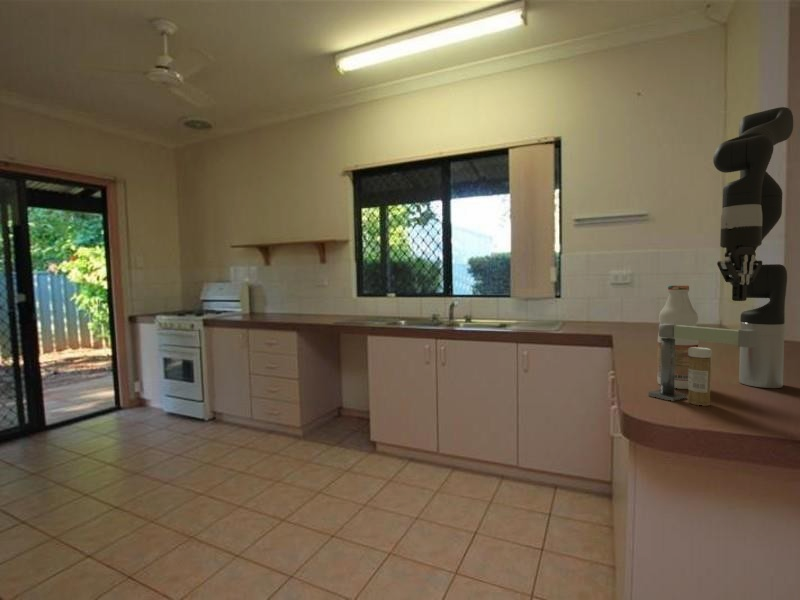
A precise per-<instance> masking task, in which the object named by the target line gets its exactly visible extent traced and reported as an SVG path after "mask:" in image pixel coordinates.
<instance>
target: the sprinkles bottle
mask: <svg viewBox="0 0 800 600" xmlns="http://www.w3.org/2000/svg"><path fill="white" fill-rule="evenodd" d="M712 352H713V351H712V349H710V348H709V347H702V346H698V347H691V348H689V349H688V355H689V374H688V389H687V390H688V397H687V398H688V399H687V402H688V403H689V404H690V405H695V406H699V405H702V407H708V406H710V405H711V391H712V390H711V388H712V384H711V383H712V379H711V368H712V367H711V362H712V361H711V359H712V355H713V353H712Z"/></svg>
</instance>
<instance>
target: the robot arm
mask: <svg viewBox="0 0 800 600" xmlns="http://www.w3.org/2000/svg"><path fill="white" fill-rule="evenodd" d="M738 127H739V128H738V136H736V137H734V138H733V137H732V139H731V138H730V139H729V140H726V141H724V142H722V143H720V144H719V146H717V148H716V149H715V151H714V154H713V158H712V159H713V165H714V167H715V169H716V170H718V171H719V172H721V173H727V174H729V173H734V172H739V173H740V174H739V179H735V180H733V181H731V182H727V183H726V184H725V185H724V186H723V188H722V201H721V203H722V204H721V205H722V209H721V215H720V237H719V238H720V240H719V241H720V243H719V244H720V245H719V247H720V248H723V249H725V253H724V259H722V260H718V261H717V262H716V263H717V264H716V265H717V267H718V269H719V272H720V273H721V275H722V277H723V279H724V281H725V282H726V283H729V284H730V285H731V287H732V290H731V293H732V295H731V299H732V301H734V302H745V301H747V299H769V301H768V302H767V303H766V304H764V305H762V306H759V307H757V308H753V309H748V310H745V311H743V312H741V314H740V324H739V330H743V329H751V330H757V334H756V346H755V347H751V348H747V347H739V362H738V363H739V369H738V370H739V371H738V382H739V383H740V384H743V385H746V386H749V387H750V386H751V387H757V388H765V389H766V388H767V389H779V388H783V387H784V386H783V383H784V354H785V353H784V352H785V351H784V350H785V349H784V348H785V322H786V321H785V318H786V317H785V316H786V315H785V313H786V312H785V304H786V294H787V284H788V271H787V269H786V266H785V265H784V264H779V263H778V264H776V263H775V264H773V263H772V264H763V260H757V259H756V255H757V254H756V253H757V252H756V251H757V249H758V247H760V246H762V244H763V240H764V239H765V238H766V237H767V235H769V234H770V232H771V231H772V229H774V227H775V226H776V224H777V223H778V222H779V220H780V219H781V217H782V213H783V190H782V188H781V186H780V185H779V183H778V182H777V181H776V180H775V179H774V178H773V176H771V175H770V174H769V173H768V171H767V169H768V167H769V164H770V162H771V159H772V156H773V154H774V146H775V145H777V144H779V143H782V142H785V141H787V140H788V139H789V138H790V137H791V136H792V133H793V130H794V115H793V112H792V110H791V109H790V108H788V107H787V106H780V107H779V106H778V107H774V108H771V109H768V110H763V111H759V112H754V113H750V114H748V115H745V116H743V117H742V118H741V120H740V122H739V126H738Z"/></svg>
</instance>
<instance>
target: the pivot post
mask: <svg viewBox="0 0 800 600" xmlns="http://www.w3.org/2000/svg"><path fill="white" fill-rule="evenodd" d="M674 384H675V338H661V384H659V385H660V387H659V389H655V390H652V391H651V390H650V391H648V397H650V398H651V397H652V398H655V397H656V399H659V398H660V400H663V399H664V401H668V400H671V401H670V402H672V401H674V402H676V401H675V400H678V401H680V400H679V399H681V400H684V399H687V393H683V392H679V391H675V388H674ZM683 398H684V399H683Z"/></svg>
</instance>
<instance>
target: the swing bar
mask: <svg viewBox="0 0 800 600" xmlns="http://www.w3.org/2000/svg"><path fill="white" fill-rule="evenodd" d="M658 333H659V336H660V337H667V338H680V339H689V340H698V342H708V343H719V344H724V345H725V344H726V345H727V344H729V345H736V346H737V347H739V348H740V347H747V348H751V347H755V346H756V334H757V330H751V329H743V330H740V329H730V328H717V327H706V326H697V325H696V326H685V325H676V324H660V323H659V324H658Z"/></svg>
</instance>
